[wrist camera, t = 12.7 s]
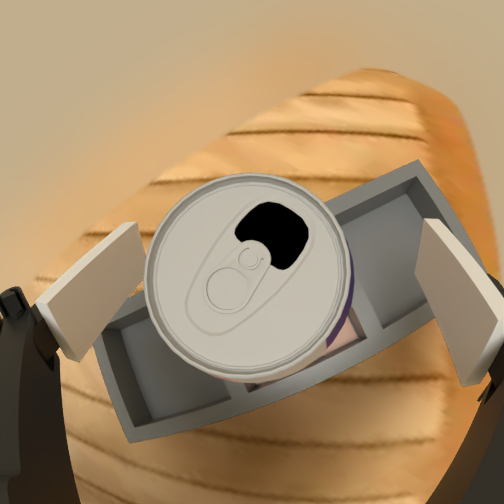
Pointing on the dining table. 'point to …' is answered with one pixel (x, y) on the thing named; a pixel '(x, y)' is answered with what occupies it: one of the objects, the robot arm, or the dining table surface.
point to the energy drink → (249, 278)
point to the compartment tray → (331, 360)
